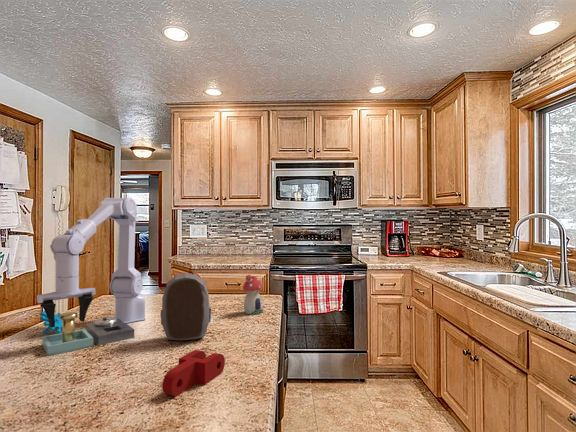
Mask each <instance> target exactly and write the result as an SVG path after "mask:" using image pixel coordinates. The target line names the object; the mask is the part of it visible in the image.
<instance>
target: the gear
mask: <svg viewBox="0 0 576 432" xmlns="http://www.w3.org/2000/svg"><path fill="white" fill-rule="evenodd" d="M60 314H61V312H57V314H55V327H50V325H49V320H48V317H47V314H46V312H45V310H43V311H42V312H41V313H40V316H41V317H40V320H41V321H43V323H42V324H43V326H44V327H46V328H45V329H44V330H43V331H42V334H44V335H45V334H47V333H48V332H49V331H51V332H53V331H54V330H55V334H60V333H62V319H60Z"/></svg>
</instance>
